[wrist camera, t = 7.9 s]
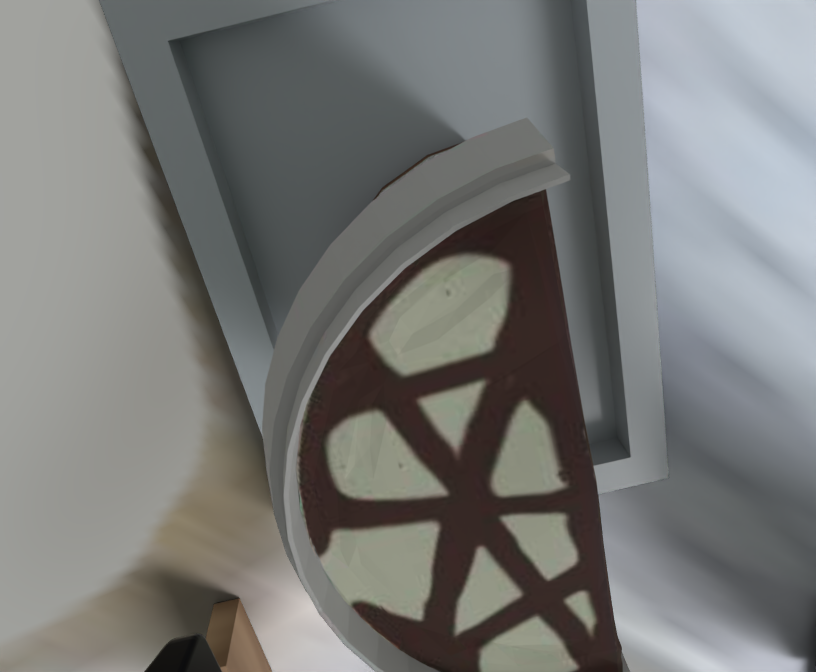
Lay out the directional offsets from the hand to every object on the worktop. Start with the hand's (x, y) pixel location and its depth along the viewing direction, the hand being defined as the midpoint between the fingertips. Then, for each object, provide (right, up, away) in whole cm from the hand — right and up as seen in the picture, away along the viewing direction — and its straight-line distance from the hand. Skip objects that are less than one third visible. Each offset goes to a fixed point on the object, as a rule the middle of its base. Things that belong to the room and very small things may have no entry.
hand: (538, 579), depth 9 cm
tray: (-1, +5, +12) cm, 13 cm away
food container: (-2, +4, +12) cm, 13 cm away
